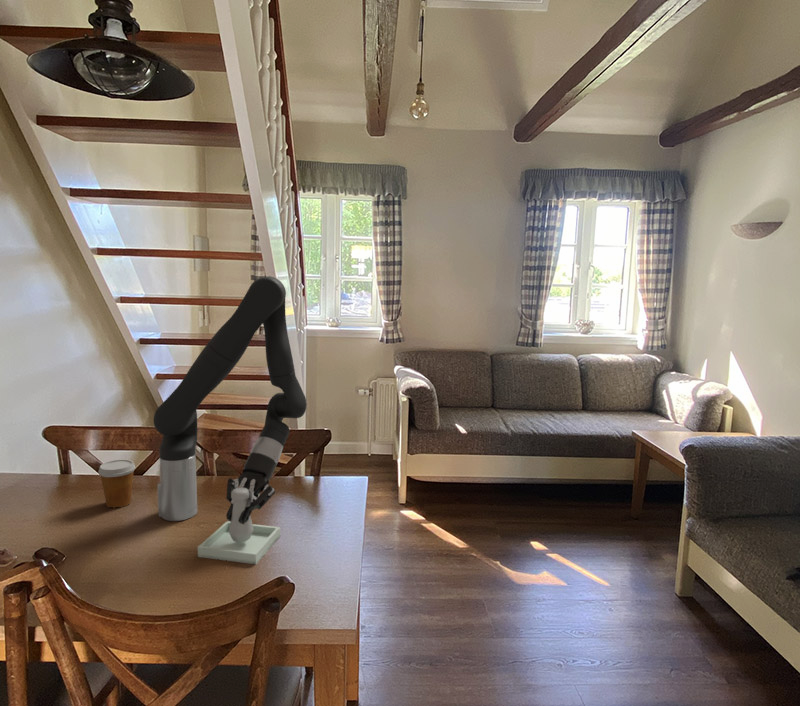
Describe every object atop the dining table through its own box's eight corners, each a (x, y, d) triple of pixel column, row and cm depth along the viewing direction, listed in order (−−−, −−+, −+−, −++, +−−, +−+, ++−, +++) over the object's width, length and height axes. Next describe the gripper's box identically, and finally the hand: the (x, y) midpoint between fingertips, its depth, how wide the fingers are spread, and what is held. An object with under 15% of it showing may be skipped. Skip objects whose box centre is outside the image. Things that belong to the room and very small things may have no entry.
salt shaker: (258, 535, 134) (257, 486, 132) (244, 546, 129) (243, 495, 127) (238, 531, 136) (237, 483, 134) (224, 541, 131) (222, 491, 129)
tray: (197, 556, 127) (197, 547, 127) (227, 529, 141) (227, 521, 141) (256, 564, 125) (255, 554, 124) (280, 536, 138) (280, 527, 138)
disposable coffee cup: (112, 513, 149) (109, 472, 147) (93, 505, 154) (91, 465, 152) (143, 502, 157) (142, 463, 155) (125, 494, 162) (123, 456, 160)
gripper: (235, 448, 139) (204, 510, 130) (280, 455, 134) (252, 521, 125) (248, 460, 145) (219, 522, 135) (292, 468, 140) (266, 532, 130)
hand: (235, 521), depth 130 cm, fingers closed on salt shaker, 3 cm apart
